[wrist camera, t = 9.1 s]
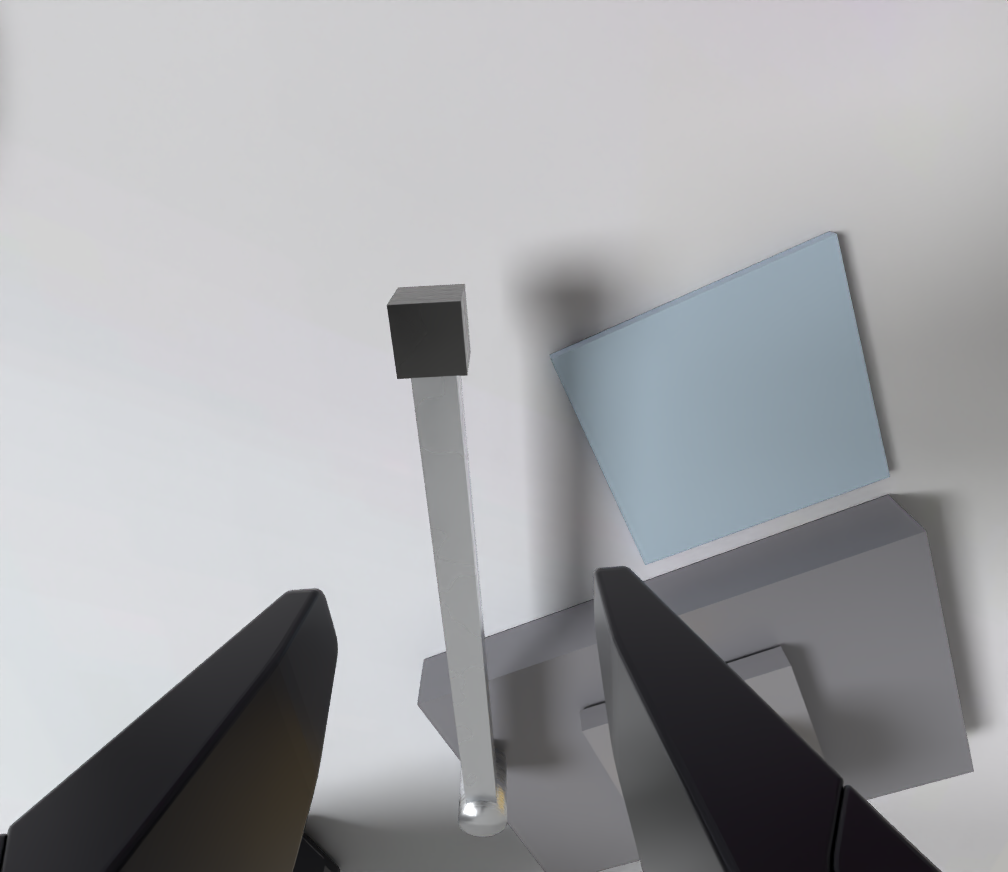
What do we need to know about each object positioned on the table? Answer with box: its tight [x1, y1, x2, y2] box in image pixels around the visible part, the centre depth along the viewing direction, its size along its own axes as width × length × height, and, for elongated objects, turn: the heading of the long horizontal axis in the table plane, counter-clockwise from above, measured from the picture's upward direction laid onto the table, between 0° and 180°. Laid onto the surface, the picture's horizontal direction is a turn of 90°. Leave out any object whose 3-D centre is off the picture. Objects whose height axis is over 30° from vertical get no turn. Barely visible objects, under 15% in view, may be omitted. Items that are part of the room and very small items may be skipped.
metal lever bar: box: [387, 284, 507, 837], centre depth 18 cm, size 18×2×2 cm, turn 3°
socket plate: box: [417, 495, 974, 872], centre depth 23 cm, size 17×12×2 cm
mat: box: [550, 231, 890, 565], centre depth 18 cm, size 8×8×1 cm
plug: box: [580, 646, 825, 799], centre depth 20 cm, size 7×7×8 cm
